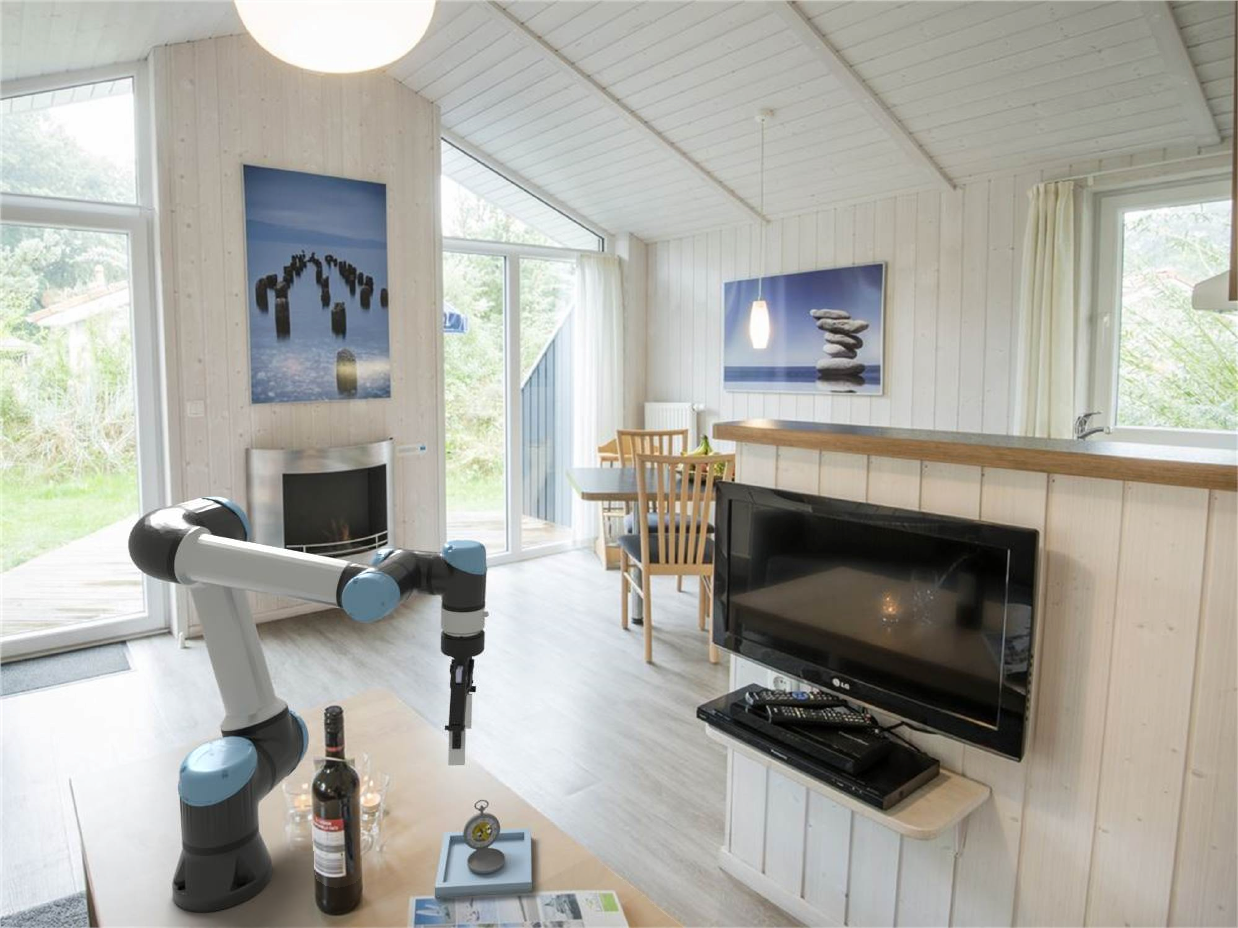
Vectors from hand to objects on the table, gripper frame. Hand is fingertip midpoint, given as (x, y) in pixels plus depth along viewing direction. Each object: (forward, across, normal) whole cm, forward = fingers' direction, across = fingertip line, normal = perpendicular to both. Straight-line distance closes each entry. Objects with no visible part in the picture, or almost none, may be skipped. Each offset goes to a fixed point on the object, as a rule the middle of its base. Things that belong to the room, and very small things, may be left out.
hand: (460, 745), depth 143 cm
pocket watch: (+20, -3, -5) cm, 21 cm away
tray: (+21, -3, -5) cm, 22 cm away
